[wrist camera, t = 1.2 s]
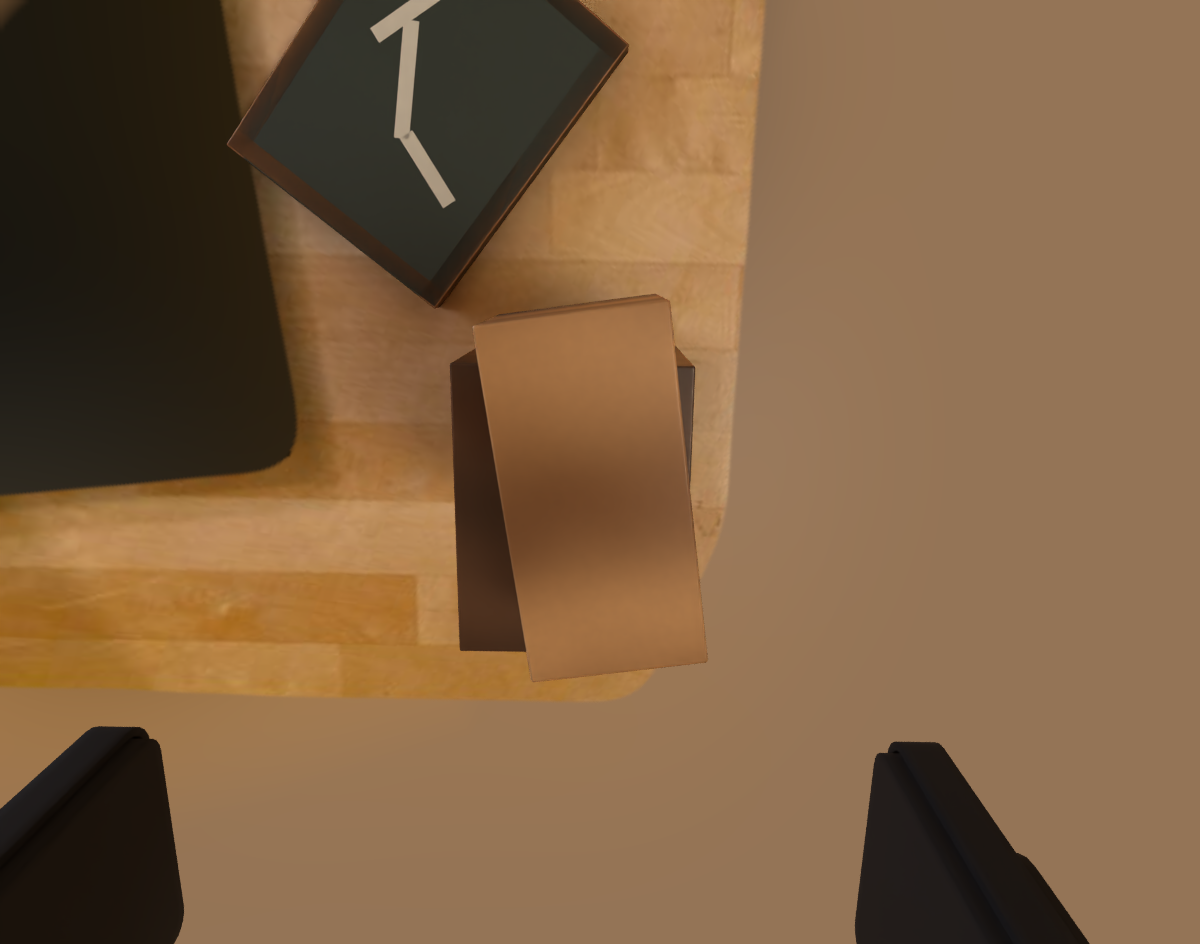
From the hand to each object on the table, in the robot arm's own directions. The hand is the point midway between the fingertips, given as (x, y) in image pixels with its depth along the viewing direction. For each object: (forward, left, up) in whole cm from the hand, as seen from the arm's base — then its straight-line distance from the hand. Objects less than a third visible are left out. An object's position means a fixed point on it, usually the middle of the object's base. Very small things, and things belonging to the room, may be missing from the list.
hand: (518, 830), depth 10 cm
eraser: (-2, 0, -14) cm, 14 cm away
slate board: (-7, -15, -32) cm, 36 cm away
